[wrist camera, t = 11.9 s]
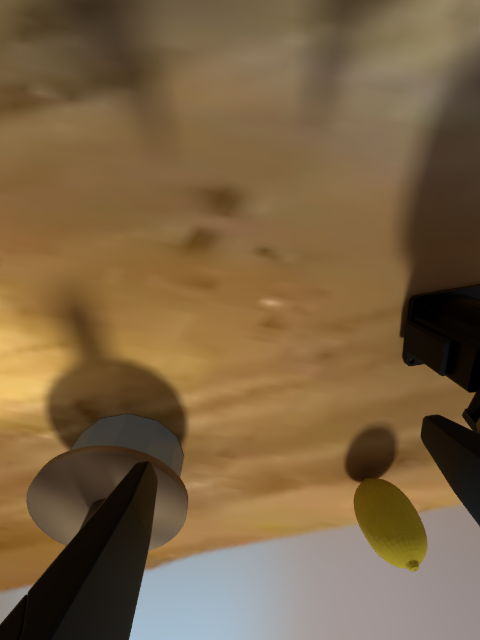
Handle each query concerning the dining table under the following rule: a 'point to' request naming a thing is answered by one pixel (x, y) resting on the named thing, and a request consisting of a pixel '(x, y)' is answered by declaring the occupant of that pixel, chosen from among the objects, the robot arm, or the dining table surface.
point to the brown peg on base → (100, 492)
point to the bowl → (135, 438)
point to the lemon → (390, 523)
